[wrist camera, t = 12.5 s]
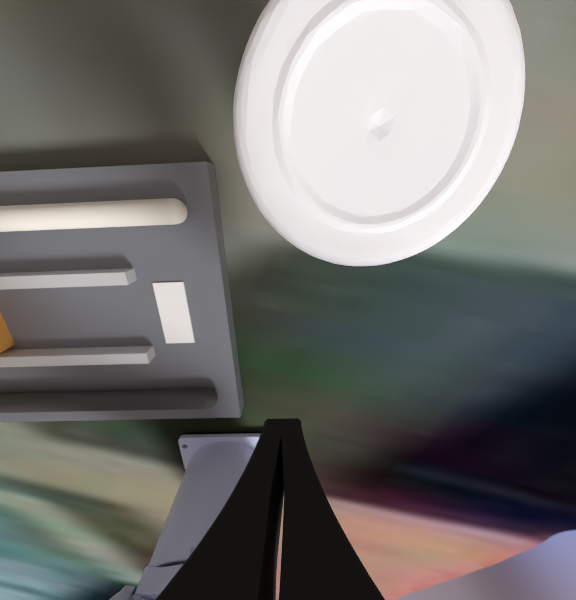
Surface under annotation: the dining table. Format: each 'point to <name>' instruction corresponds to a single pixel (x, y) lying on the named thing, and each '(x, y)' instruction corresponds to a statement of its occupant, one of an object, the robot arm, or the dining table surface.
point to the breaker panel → (119, 294)
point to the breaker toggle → (5, 336)
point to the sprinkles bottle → (376, 120)
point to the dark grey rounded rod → (108, 400)
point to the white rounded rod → (92, 214)
